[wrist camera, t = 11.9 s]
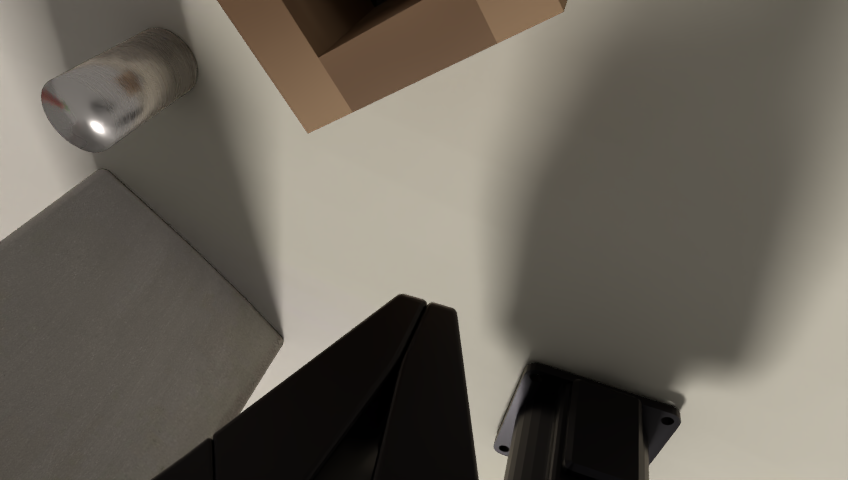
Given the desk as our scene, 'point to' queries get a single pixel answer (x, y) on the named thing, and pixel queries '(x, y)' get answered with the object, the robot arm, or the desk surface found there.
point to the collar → (370, 44)
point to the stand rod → (119, 89)
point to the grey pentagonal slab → (116, 341)
